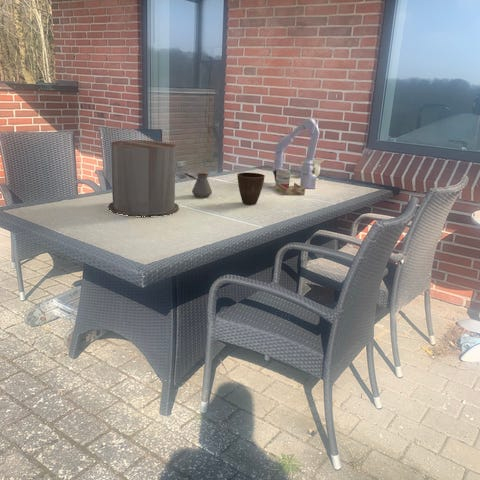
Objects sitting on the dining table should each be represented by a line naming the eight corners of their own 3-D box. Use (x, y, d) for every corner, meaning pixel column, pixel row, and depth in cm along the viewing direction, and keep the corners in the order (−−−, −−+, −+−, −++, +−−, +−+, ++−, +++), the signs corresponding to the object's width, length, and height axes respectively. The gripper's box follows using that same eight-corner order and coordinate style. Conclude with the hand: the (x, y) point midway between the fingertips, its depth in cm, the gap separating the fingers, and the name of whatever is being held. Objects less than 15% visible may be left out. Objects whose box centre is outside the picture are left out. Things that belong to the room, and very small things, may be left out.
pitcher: (301, 175, 376) (303, 156, 371) (324, 178, 368) (326, 159, 364) (296, 177, 366) (298, 158, 362) (319, 180, 359) (321, 161, 355)
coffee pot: (200, 193, 295) (201, 168, 290) (215, 196, 289) (217, 170, 284) (175, 198, 278) (176, 171, 274) (191, 202, 272) (192, 175, 267)
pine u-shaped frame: (294, 189, 323) (295, 183, 321) (304, 194, 307) (304, 188, 306) (276, 189, 319) (276, 183, 318) (285, 194, 304) (285, 188, 303)
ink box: (289, 188, 326) (290, 169, 322) (283, 188, 322) (285, 170, 319) (280, 185, 332) (281, 167, 328) (274, 186, 329) (276, 168, 325)
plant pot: (257, 208, 268) (259, 178, 263) (231, 204, 272) (233, 175, 268) (266, 202, 281) (268, 174, 276) (241, 199, 286) (242, 171, 281)
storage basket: (149, 221, 231) (149, 151, 221) (93, 209, 247) (90, 142, 237) (192, 207, 260) (193, 145, 251) (139, 197, 276) (139, 138, 266)
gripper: (269, 159, 338) (268, 179, 342) (276, 163, 325) (274, 183, 329) (279, 159, 340) (277, 179, 344) (286, 163, 327) (284, 183, 331)
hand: (276, 181), depth 336 cm, fingers closed
